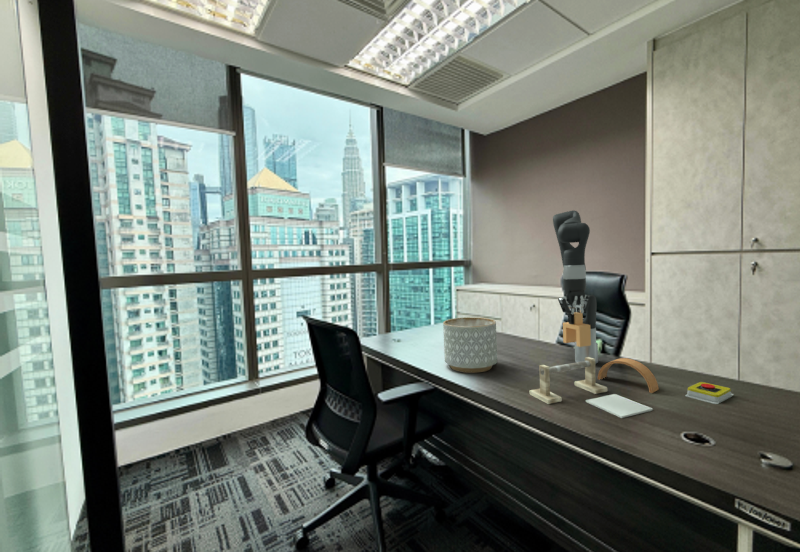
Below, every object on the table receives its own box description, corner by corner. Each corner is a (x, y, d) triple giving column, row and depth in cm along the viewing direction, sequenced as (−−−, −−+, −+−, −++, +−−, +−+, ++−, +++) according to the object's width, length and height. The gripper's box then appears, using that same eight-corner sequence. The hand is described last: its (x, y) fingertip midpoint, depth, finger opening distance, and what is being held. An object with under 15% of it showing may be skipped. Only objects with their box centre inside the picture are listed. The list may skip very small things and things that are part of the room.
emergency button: (684, 385, 126) (702, 377, 134) (684, 397, 127) (702, 388, 134) (716, 393, 118) (734, 384, 126) (716, 405, 119) (734, 395, 126)
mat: (614, 395, 130) (614, 393, 130) (652, 410, 116) (652, 408, 116) (585, 401, 125) (585, 400, 125) (621, 418, 112) (621, 416, 112)
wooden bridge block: (573, 340, 135) (573, 311, 134) (590, 345, 127) (590, 314, 126) (563, 342, 133) (562, 312, 133) (579, 346, 125) (579, 315, 125)
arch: (651, 393, 130) (651, 367, 130) (597, 379, 147) (596, 356, 147) (658, 390, 133) (658, 364, 133) (604, 376, 150) (604, 353, 150)
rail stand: (586, 383, 143) (585, 354, 143) (607, 391, 134) (606, 360, 133) (529, 394, 135) (528, 363, 134) (548, 404, 125) (547, 371, 124)
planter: (435, 364, 178) (433, 321, 177) (474, 356, 190) (472, 315, 189) (466, 378, 156) (464, 329, 155) (508, 368, 167) (507, 321, 166)
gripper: (581, 276, 135) (582, 320, 136) (551, 278, 131) (552, 323, 132) (597, 276, 128) (598, 323, 129) (566, 278, 124) (567, 327, 124)
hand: (575, 323), depth 130 cm, fingers closed on wooden bridge block, 3 cm apart
